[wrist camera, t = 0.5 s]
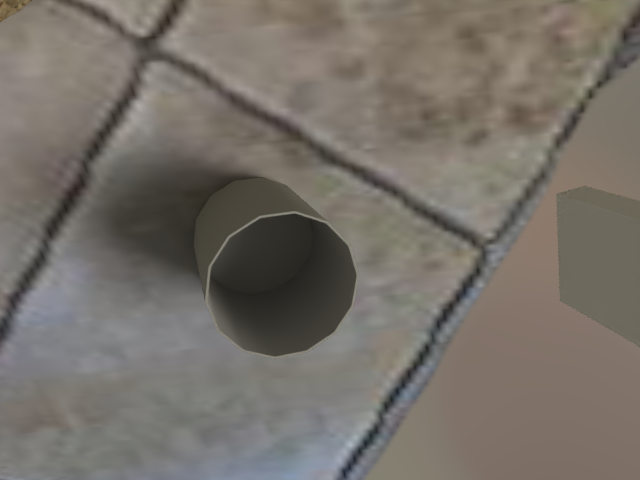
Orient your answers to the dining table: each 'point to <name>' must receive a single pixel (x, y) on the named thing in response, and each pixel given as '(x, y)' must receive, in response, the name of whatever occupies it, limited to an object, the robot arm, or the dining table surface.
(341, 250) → the cup
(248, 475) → the dining table surface
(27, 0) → the rock
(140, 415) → the dining table surface
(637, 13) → the dining table surface
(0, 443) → the dining table surface
